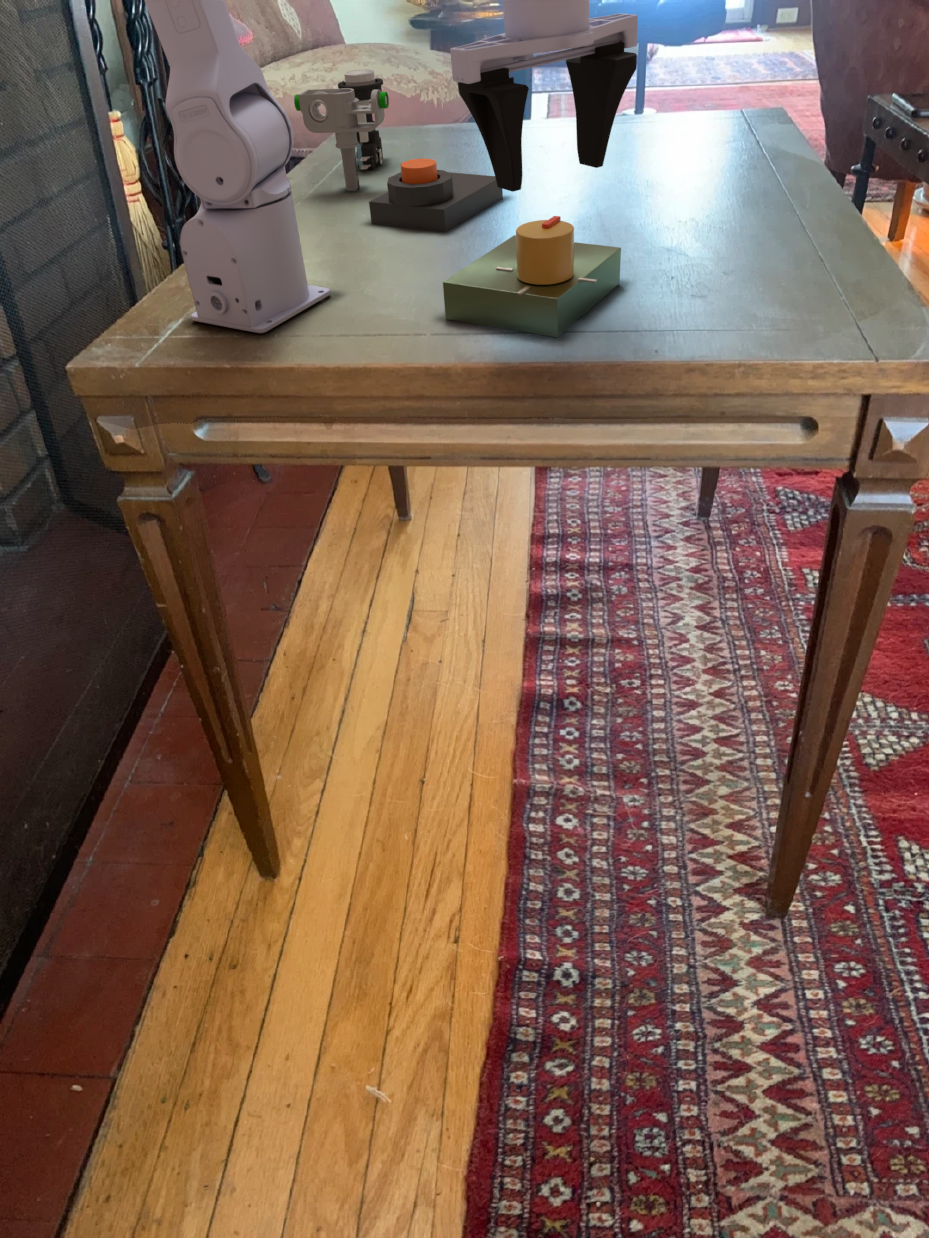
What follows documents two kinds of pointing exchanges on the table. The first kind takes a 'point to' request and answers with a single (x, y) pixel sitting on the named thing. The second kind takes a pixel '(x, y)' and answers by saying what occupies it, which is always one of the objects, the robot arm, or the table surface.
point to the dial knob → (545, 251)
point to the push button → (365, 116)
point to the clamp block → (530, 290)
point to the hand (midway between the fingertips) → (551, 176)
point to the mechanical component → (341, 121)
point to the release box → (434, 201)
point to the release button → (419, 171)
